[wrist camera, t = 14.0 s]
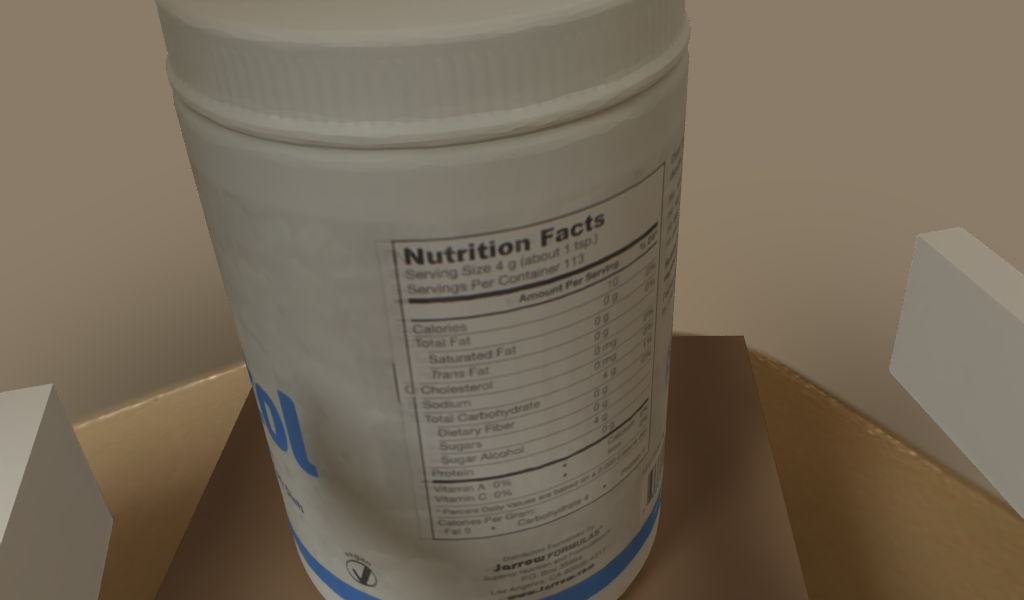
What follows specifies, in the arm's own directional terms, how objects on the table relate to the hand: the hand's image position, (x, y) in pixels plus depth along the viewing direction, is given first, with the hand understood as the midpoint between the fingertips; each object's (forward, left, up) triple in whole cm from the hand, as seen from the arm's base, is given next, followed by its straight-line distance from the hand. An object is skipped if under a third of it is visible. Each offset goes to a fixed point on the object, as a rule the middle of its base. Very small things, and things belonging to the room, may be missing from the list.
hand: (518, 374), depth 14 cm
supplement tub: (-2, +6, -10) cm, 12 cm away
